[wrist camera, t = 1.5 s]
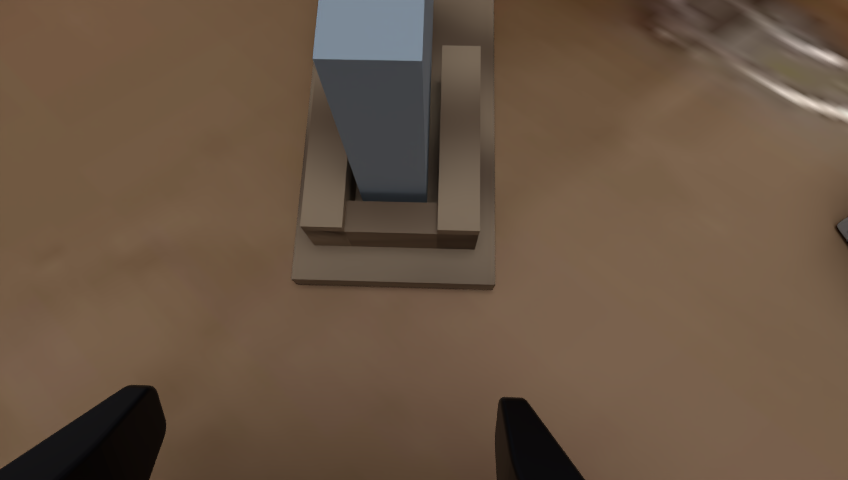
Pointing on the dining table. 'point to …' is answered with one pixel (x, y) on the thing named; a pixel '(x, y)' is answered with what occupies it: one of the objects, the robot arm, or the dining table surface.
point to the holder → (447, 179)
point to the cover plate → (379, 90)
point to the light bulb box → (843, 227)
